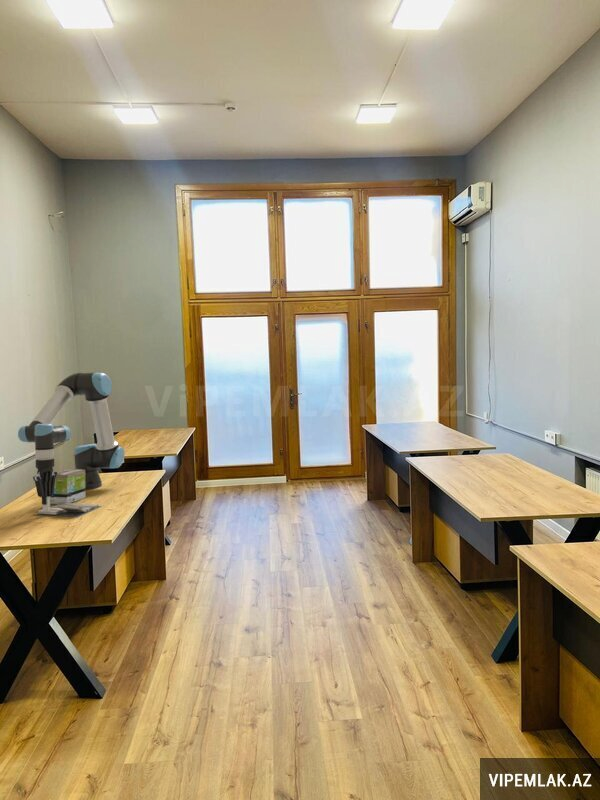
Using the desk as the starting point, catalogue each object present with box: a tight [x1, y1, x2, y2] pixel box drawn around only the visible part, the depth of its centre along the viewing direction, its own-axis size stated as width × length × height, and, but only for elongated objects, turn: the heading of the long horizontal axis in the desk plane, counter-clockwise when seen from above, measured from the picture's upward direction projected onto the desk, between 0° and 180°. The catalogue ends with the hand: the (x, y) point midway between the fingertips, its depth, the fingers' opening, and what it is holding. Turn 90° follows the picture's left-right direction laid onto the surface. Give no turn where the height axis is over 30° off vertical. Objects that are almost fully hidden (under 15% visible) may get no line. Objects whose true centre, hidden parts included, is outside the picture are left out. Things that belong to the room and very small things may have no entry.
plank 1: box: [36, 506, 66, 515], centre depth 240 cm, size 8×10×1 cm
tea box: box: [50, 468, 86, 505], centre depth 261 cm, size 15×10×15 cm, turn 168°
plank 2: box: [57, 505, 87, 512], centre depth 238 cm, size 8×10×1 cm
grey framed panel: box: [35, 505, 103, 519], centre depth 244 cm, size 19×22×1 cm
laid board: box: [50, 502, 99, 513], centre depth 247 cm, size 8×20×1 cm, turn 77°
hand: (46, 511), depth 236 cm, fingers closed
